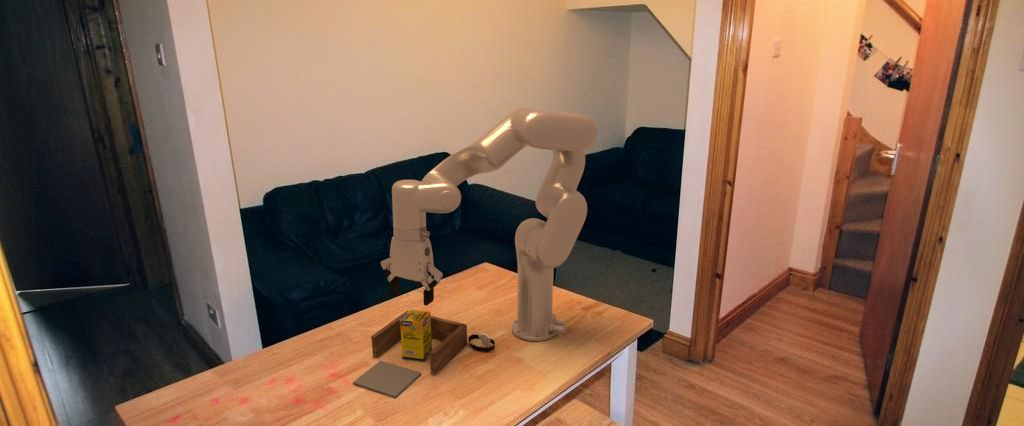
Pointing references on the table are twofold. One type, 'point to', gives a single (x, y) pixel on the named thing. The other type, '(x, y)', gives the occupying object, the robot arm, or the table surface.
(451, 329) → the open box
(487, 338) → the watch
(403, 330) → the supplement box
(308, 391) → the table surface
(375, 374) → the mat
